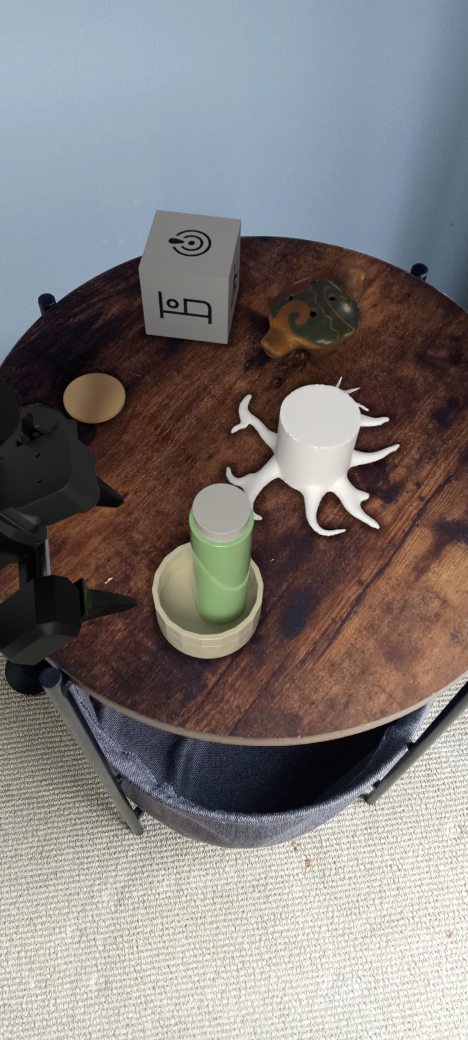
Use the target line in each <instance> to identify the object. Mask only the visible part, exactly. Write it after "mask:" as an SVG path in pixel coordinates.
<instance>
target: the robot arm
mask: <svg viewBox="0 0 468 1040" xmlns="http://www.w3.org/2000/svg"><path fill="white" fill-rule="evenodd" d="M96 464H97V456H96V454H95V452H94V451H93V450H91V449H90V448H89V447H88V446H87V445H85V444H84V443H83V441H81V440H80V439H79V431H78V423H77V420H74V419H69V418H67V417H66V416H64V412H62V411H60V410H58V409H55V408H52V407H50V406H48V405H45V404H42V403H35V404H34V403H33V404H29V405H25V406H24V407H22V409H21V410H20V407H19V403H18V399H17V398H16V396H15V394H14V391H13V390H12V389H11V388H10V386H9V384H8V383H7V382H6V380H5V379H4V378H3V377H2V376H0V571H2V570H3V569H4V568H6V567H7V566H8V565H9V564H13V565H18V567H17V568H18V569H17V571H18V588H19V589H17V590H16V591H14V592H13V593H12V594H10V596H8V597H7V598H6V599H4V600H2V602H0V654H2V656H3V658H4V659H6V660H8V661H9V662H11V663H12V664H19V665H27V666H36V665H37V664H39V663H40V662H42V661H43V660H45V659H46V658H49V656H51V655H53V654H55V653H56V652H57V651H59V650H60V649H62V648H63V647H65V646H66V645H68V644H70V643H71V642H73V641H74V640H76V639H78V637H79V635H80V632H81V629H82V626H83V623H84V622H88V621H92V620H96V619H100V618H103V617H107V616H111V615H114V614H119V613H122V612H126V611H130V610H132V609H133V608H135V607H136V606H138V603H139V602H138V599H136V598H135V597H131V596H128V595H125V594H122V593H121V594H120V593H115V592H110V591H105V590H100V589H95V588H94V589H93V588H89V587H88V585H87V583H86V580H85V579H84V577H80V578H78V579H77V580H76V581H74V582H73V581H71V580H70V578H69V577H68V576H63V575H59V574H52V571H51V559H50V543H49V528H48V527H49V526H52V525H55V524H57V523H59V522H62V521H65V520H67V519H69V518H71V517H73V516H75V515H78V514H85V513H87V512H89V511H91V510H93V509H94V508H95V507H99V508H100V507H101V508H110V509H111V508H113V509H117V508H120V507H121V506H122V505H124V503H125V498H124V497H123V496H122V495H121V494H120V493H119V492H118V491H116V490H115V489H114V488H113V487H112V486H111V485H109V483H107V482H106V481H104V480H103V479H102V478H101V477H100V476H98V475H97V468H96Z"/></svg>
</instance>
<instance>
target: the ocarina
mask: <svg viewBox="0 0 468 1040" xmlns="http://www.w3.org/2000/svg"><path fill="white" fill-rule="evenodd" d="M367 283H368V273H367V270H366V269H365V267H364V266H361V265H357V264H355V265H353V264H352V265H351V264H350V265H346V266H342V267H341V268H340V269H339V270H337V271H336V273H335V274H334V276H333V277H332V280H330V279H328V278H326V277H323V276H319V275H317V276H316V275H314V276H308V277H305V278H302V279H299V280H297V281H295V282H293V283H290V284H289V285H288V286H286V287H285V288H283V289H282V290H281V291H279V293H278V294H277V295H276V296H275V298H274V299H273V301H272V302H271V304H270V307H269V310H268V324H269V329H268V330H267V332H266V333H265V335H264V336H263V337H262V338H261V339H260V346H261V347H262V349H263V351H264V353H265V354H266V355H267V356H268V357H270V358H271V359H273V360H279V359H282V358H284V357H285V356H286V355H288V354H290V353H291V352H293V351H294V350H298V349H303V350H306V351H308V353H309V355H311V356H312V357H313V358H314V359H316V360H319V359H322V358H324V357H325V356H327V355H329V354H330V353H332V352H333V351H334V350H336V349H337V348H338V347H339V346H341V345H342V344H345V343H348V342H350V341H351V339H352V338H353V337H354V336H355V334H356V333H357V331H358V329H359V328H360V327H359V326H360V323H361V312H360V309H359V307H358V304H359V302H360V301H361V299H362V297H363V295H364V293H365V291H366V288H367Z"/></svg>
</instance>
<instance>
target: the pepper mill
mask: <svg viewBox="0 0 468 1040" xmlns="http://www.w3.org/2000/svg"><path fill="white" fill-rule="evenodd" d="M253 511H254V510H253ZM253 511H252V508H251V504H250V501H249V499H248V497H247V495H246V494H245V493H244V491H243V489H242V488H240V487H238V486H236V485H234V484H231V483H220V482H219V483H213V484H210V485H208V486H206V487H204V488H202V489H201V490H200V491H199V492H198V493H197V494H196V495H195V497H194V500H193V501H192V506H191V508H190V511H189V514H188V527H189V529H188V530H189V538H190V539H189V542H190V544H191V559H192V574H193V589H194V603H195V607H196V610H197V612H198V613H199V615H200V616H201V617H202V618H203V619H205V620H206V621H208V622H210V623H213V624H228V623H231V622H233V621H235V620H237V619H238V618H239V617H240V616H241V615H242V614H243V612H244V610H245V608H246V604H247V594H248V583H249V572H250V560H251V558H252V549H253V538H254V537H253V536H254V525H255V520H254V514H253Z"/></svg>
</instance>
